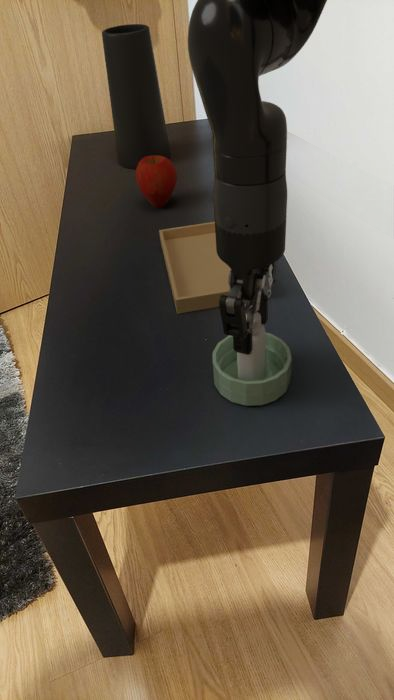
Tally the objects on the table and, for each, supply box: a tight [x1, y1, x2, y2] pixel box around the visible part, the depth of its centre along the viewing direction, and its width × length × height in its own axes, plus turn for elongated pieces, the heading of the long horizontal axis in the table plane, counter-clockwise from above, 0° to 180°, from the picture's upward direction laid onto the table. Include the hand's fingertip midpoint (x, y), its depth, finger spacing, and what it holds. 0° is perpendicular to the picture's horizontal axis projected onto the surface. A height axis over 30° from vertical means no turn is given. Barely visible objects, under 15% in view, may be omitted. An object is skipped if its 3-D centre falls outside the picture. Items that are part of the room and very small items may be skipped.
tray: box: [158, 221, 270, 315], centre depth 90 cm, size 23×15×3 cm, turn 10°
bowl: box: [212, 331, 293, 407], centre depth 68 cm, size 10×10×4 cm
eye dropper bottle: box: [237, 312, 267, 381], centre depth 65 cm, size 4×6×12 cm
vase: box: [101, 23, 172, 170], centre depth 122 cm, size 14×14×29 cm
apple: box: [135, 155, 178, 209], centre depth 107 cm, size 9×8×11 cm
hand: (251, 335), depth 64 cm, fingers closed on eye dropper bottle, 5 cm apart
